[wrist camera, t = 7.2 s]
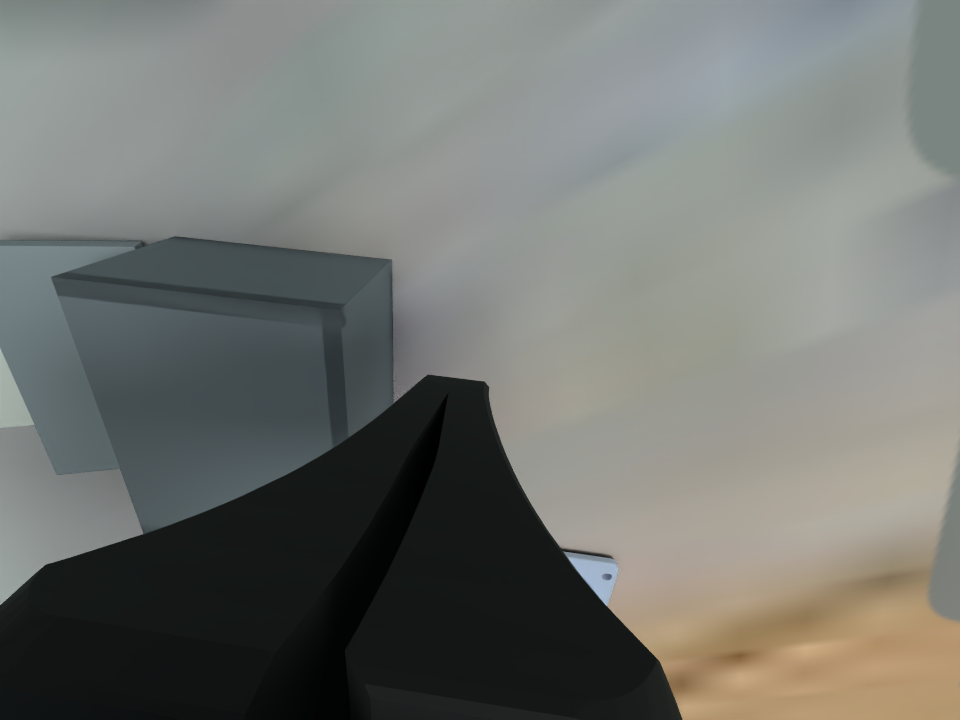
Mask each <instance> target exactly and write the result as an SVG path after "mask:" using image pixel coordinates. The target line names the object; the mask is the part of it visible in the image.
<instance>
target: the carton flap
mask: <svg viewBox="0 0 960 720" xmlns="http://www.w3.org/2000/svg"><path fill="white" fill-rule="evenodd" d="M141 247H143V245H142V241H42V240H0V428H5V427H18V426H31V425H35V427H36V429H37V431H38V434H39V436H40V438H41V440H42V443H43V445H44V447H45V449H46V452H47V454H48V456H49V458H50V460H51V463H52V465H53V467H54V469H55V472H56V474H57V475H61V474H71V473H81V472H91V471H100V470H110V469H120V467H119V464H118V461H117V459H116V456H115V453H114V450H113V448H112V445H111V442H110V439H109V437H108V434H107V431H106V428H105V425H104V423H103V420H102V417H101V414H100V412H99V409H98V406H97V403H96V401H95V398H94V395H93V392H92V390H91V387H90V384H89V381H88V379H87V376H86V373H85V370H84V368H83V365H82V362H81V359H80V356H79V354H78V351H77V348H76V345H75V343H74V340H73V337H72V334H71V332H70V329H69V326H68V323H67V321H66V318H65V315H64V312H63V310H62V307H61V304H60V301H59V299H58V296H57V293H56V290H55V287H54V285H53V282H52V279H51V277H52V276H55V275H58V274H61V273H64V272H67V271H70V270H74V269H77V268H80V267H83V266H86V265H89V264H92V263H95V262H98V261H101V260H104V259H107V258H111V257H114V256H117V255H120V254H123V253H126V252H129V251H132V250H135V249H138V248H141Z"/></svg>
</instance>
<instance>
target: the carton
mask: <svg viewBox="0 0 960 720" xmlns="http://www.w3.org/2000/svg"><path fill="white" fill-rule="evenodd" d="M51 279H52V282H53V285H54V287H55V290H56V293H57V296H58V299H59V301H60V304H61V307H62V310H63V312H64V315H65V318H66V321H67V323H68V326H69V329H70V332H71V334H72V337H73V340H74V343H75V345H76V348H77V351H78V354H79V356H80V359H81V362H82V365H83V368H84V370H85V373H86V376H87V379H88V381H89V384H90V387H91V390H92V392H93V395H94V398H95V401H96V403H97V406H98V409H99V412H100V414H101V417H102V420H103V423H104V425H105V428H106V431H107V434H108V437H109V439H110V442H111V445H112V448H113V450H114V453H115V456H116V459H117V461H118V464H119V467H120V470H121V472H122V475H123V478H124V481H125V483H126V486H127V489H128V492H129V494H130V497H131V500H132V503H133V505H134V508H135V511H136V514H137V517H138V519H139V522H140V525H141V528H142V530H143V533H144V534H146V533H148V532H151V531H154V530H157V529H160V528H163V527H165V526H168V525H171V524H173V523H176V522H179V521H181V520H184V519H187V518H189V517H192V516H195V515H197V514H200V513H202V512H205V511H207V510H210V509H212V508H215V507H217V506H219V505H222V504H224V503H227V502H229V501H231V500H234V499H236V498H238V497H240V496H243V495H245V494H247V493H249V492H251V491H253V490H255V489H257V488H259V487H261V486H264V485H266V484H268V483H270V482H272V481H274V480H276V479H278V478H280V477H282V476H284V475H287V474H289V473H290V472H292V471H294V470H296V469H298V468H300V467H301V466H303V465H305V464H307V463H309V462H310V461H312V460H314V459H316V458H317V457H319V456H321V455H323V454H324V453H326V452H327V451H329V450H331V449H332V448H334V447H336V446H337V445H339V444H340V443H342V442H343V441H344V440H346V439H347V438H349V437H350V436H352V435H353V434H354V433H356V432H357V431H359V430H360V429H361V428H363V427H364V426H366V425H367V424H368V423H370V422H371V421H372V420H374V419H375V418H376V417H377V416H379V415H380V414H381V413H382V412H384V411H385V410H386V409H387V408H389V407H390V406H391V405H393V315H392V260H388V259H378V258H369V257H360V256H351V255H341V254H332V253H323V252H314V251H304V250H295V249H286V248H277V247H267V246H258V245H249V244H240V243H230V242H221V241H212V240H203V239H193V238H184V237H172V238H169V239H166V240H163V241H160V242H157V243H154V244H151V245H147V246H144V247H141V248H138V249H135V250H132V251H129V252H126V253H123V254H120V255H117V256H114V257H111V258H107V259H104V260H101V261H98V262H95V263H92V264H89V265H86V266H83V267H80V268H77V269H74V270H70V271H67V272H64V273H61V274H58V275H55V276H52V277H51Z"/></svg>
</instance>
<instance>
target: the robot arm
mask: <svg viewBox="0 0 960 720" xmlns="http://www.w3.org/2000/svg"><path fill="white" fill-rule="evenodd" d="M618 571H619V568H618V563H617V562H616V561H615V560H614V559H611V558H605V557H598V556H591V555H584V554H577V553H570V552H563V551H562V549H561V548H560V547H559V545H558V544H557V543H556V541H555V540H554V538H553V537H552V536H551V534H550V533H549V532H548V530H547V529H546V527H545V526H544V524H543V522H542V521H541V519H540V518H539V516H538V515H537V513H536V511H535V510H534V508H533V507H532V505H531V503H530V501H529V500H528V498H527V496H526V494H525V493H524V491H523V489H522V487H521V485H520V483H519V481H518V479H517V477H516V475H515V473H514V471H513V469H512V467H511V465H510V462H509V460H508V458H507V456H506V453H505V451H504V448H503V446H502V443H501V440H500V437H499V435H498V432H497V429H496V426H495V423H494V419H493V416H492V411H491V407H490V402H489V386H488V385H487V384H486V383H485V382H483V381H475V380H467V379H459V378H450V377H442V376H434V375H427V376H426V377H424V378H423V379H422V380H421V381H419V382H418V383H417V384H416V385H415V386H414V387H412V388H411V389H410V390H409V391H408V392H407V393H406V394H404V395H403V396H402V397H401V398H400V399H398V400H397V401H396V402H395V403H394V404H393V405H391V406H390V407H389V408H387V409H386V410H385V411H384V412H382V413H381V414H380V415H379V416H377V417H376V418H375V419H374V420H372V421H371V422H370V423H368V424H367V425H366V426H364V427H363V428H361V429H360V430H359V431H357V432H356V433H354V434H353V435H352V436H350V437H349V438H347V439H346V440H344V441H343V442H342V443H340V444H339V445H337V446H336V447H334V448H332V449H331V450H329V451H327V452H326V453H324V454H323V455H321V456H319V457H317V458H316V459H314V460H312V461H310V462H309V463H307V464H305V465H303V466H301V467H300V468H298V469H296V470H294V471H292V472H290V473H289V474H287V475H284V476H282V477H280V478H278V479H276V480H274V481H272V482H270V483H268V484H266V485H264V486H261V487H259V488H257V489H255V490H253V491H251V492H249V493H247V494H245V495H243V496H240V497H238V498H236V499H234V500H231V501H229V502H227V503H224V504H222V505H219V506H217V507H215V508H212V509H210V510H207V511H205V512H202V513H200V514H197V515H195V516H192V517H189V518H187V519H184V520H181V521H179V522H176V523H173V524H171V525H168V526H165V527H163V528H160V529H157V530H154V531H151V532H148V533H146V534H143V535H140V536H137V537H133V538H130V539H127V540H124V541H121V542H118V543H115V544H111V545H108V546H105V547H102V548H99V549H96V550H93V551H90V552H86V553H83V554H80V555H77V556H74V557H71V558H67V559H64V560H61V561H57V562H54V563H50V564H47V565H45V566H44V567H43V568H41V569H40V570H39V571H38V572H37V573H36V574H34V575H33V576H32V577H31V578H30V579H29V580H28V581H27V582H26V583H24V584H23V585H22V586H21V587H20V588H19V589H18V590H17V591H16V592H15V593H13V594H12V595H11V596H10V597H9V598H8V599H7V600H6V601H5V602H3V603H2V604H1V605H0V720H682V717H681V714H680V712H679V709H678V706H677V703H676V701H675V698H674V696H673V693H672V691H671V688H670V686H669V683H668V681H667V678H666V676H665V673H664V671H663V668H662V666H661V664H660V662H659V661H658V659H657V658H656V657H655V656H654V655H653V654H652V653H651V652H650V651H649V650H648V649H647V648H646V647H645V646H644V645H643V644H642V643H641V642H640V641H639V640H638V639H637V638H636V636H635V635H634V634H633V633H632V632H631V631H630V630H629V629H628V628H627V627H626V626H625V625H624V624H623V623H622V622H621V621H620V620H619V619H618V618H617V617H616V616H615V615H614V614H613V613H612V611H611V610H610V609H609V608H608V607H607V605H608V602H609V599H610V596H611V593H612V590H613V587H614V584H615V581H616V577H617V574H618ZM607 573H608V574H607Z"/></svg>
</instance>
